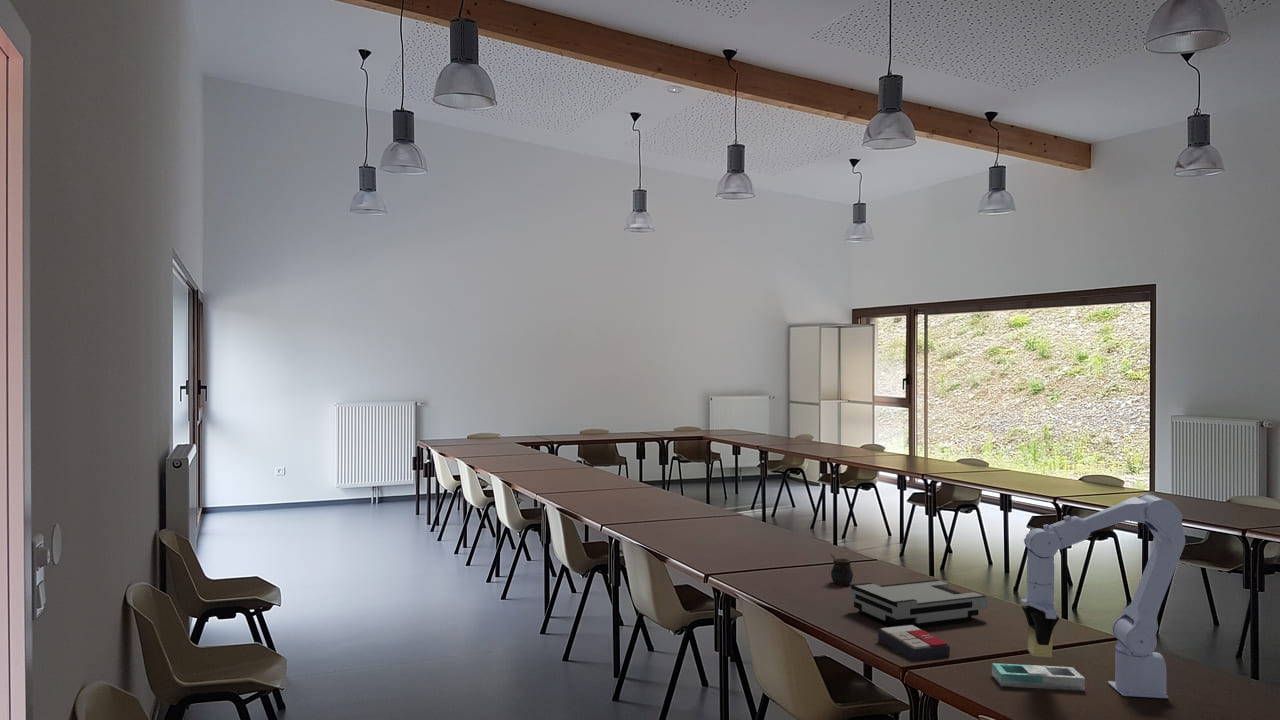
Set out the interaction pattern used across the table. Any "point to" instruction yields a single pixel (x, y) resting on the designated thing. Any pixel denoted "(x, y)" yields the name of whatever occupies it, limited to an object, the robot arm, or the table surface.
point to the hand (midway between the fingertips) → (1039, 641)
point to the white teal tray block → (1038, 676)
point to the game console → (917, 603)
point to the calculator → (913, 642)
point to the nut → (1035, 647)
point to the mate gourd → (841, 571)
